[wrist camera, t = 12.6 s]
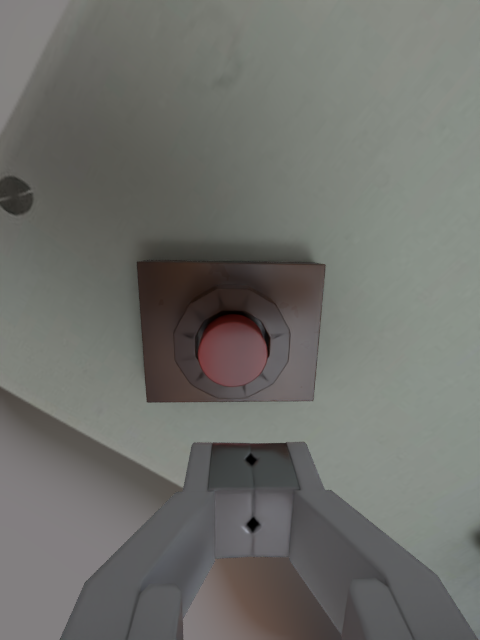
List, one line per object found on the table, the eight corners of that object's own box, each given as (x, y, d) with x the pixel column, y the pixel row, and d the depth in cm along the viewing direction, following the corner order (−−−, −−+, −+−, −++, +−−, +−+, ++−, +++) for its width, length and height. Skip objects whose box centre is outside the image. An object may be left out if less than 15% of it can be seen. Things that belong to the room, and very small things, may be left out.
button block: (154, 386, 21) (138, 419, 17) (146, 259, 18) (125, 263, 15) (304, 385, 21) (322, 416, 17) (314, 262, 19) (337, 266, 15)
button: (201, 373, 17) (198, 387, 15) (200, 313, 16) (197, 321, 14) (262, 373, 17) (266, 387, 15) (264, 313, 16) (269, 322, 14)
